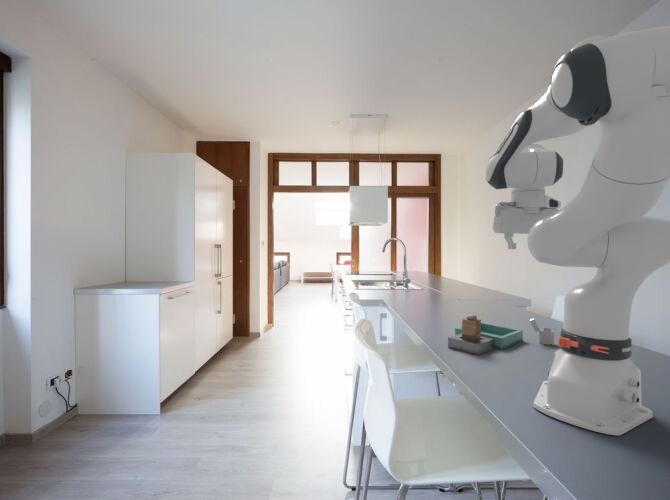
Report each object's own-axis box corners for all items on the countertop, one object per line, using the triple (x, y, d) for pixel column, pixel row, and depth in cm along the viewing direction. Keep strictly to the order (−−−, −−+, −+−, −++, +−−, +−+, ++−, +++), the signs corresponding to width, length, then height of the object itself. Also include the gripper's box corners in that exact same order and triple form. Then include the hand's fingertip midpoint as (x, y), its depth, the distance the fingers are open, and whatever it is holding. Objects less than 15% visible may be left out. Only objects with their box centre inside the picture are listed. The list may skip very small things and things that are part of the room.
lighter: (552, 343, 116) (553, 319, 116) (553, 344, 114) (554, 320, 114) (528, 341, 118) (529, 317, 118) (529, 342, 117) (530, 318, 117)
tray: (501, 349, 108) (502, 338, 108) (454, 338, 120) (455, 328, 120) (522, 340, 119) (523, 330, 119) (477, 331, 131) (477, 321, 131)
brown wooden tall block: (473, 350, 107) (474, 317, 107) (461, 347, 110) (462, 315, 110) (480, 348, 110) (480, 315, 109) (468, 345, 113) (468, 313, 112)
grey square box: (478, 354, 103) (478, 344, 103) (447, 346, 110) (448, 337, 110) (494, 348, 109) (494, 338, 109) (464, 341, 117) (464, 332, 117)
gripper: (502, 200, 98) (501, 249, 98) (565, 202, 101) (564, 249, 102) (489, 202, 104) (487, 248, 105) (549, 204, 108) (547, 249, 108)
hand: (526, 249), depth 103 cm, fingers open, 8 cm apart
